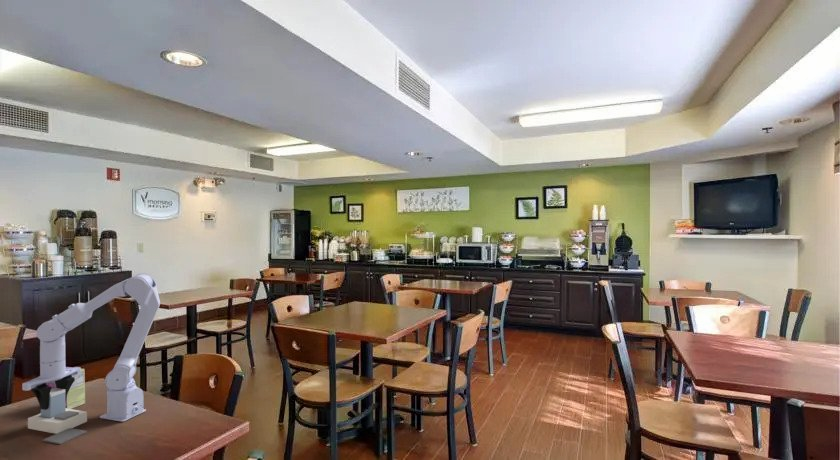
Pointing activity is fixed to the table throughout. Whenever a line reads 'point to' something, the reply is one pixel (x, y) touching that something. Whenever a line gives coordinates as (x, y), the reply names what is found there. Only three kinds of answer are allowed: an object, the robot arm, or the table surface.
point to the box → (74, 390)
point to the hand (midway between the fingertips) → (53, 405)
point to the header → (58, 421)
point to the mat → (64, 436)
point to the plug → (55, 403)
